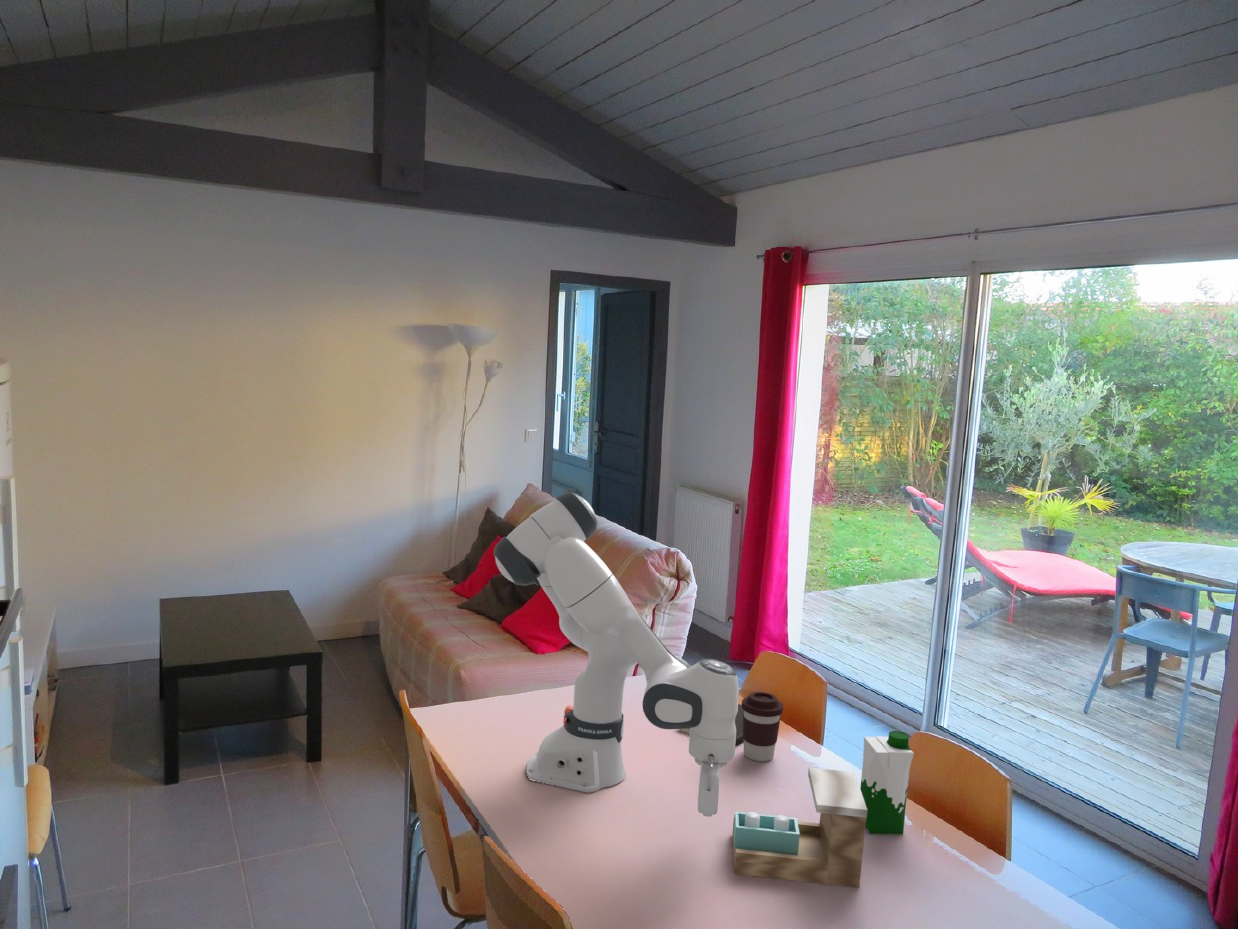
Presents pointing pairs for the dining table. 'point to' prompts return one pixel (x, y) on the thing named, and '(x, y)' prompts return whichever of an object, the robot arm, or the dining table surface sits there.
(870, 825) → the milk carton
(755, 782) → the dining table surface
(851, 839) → the counter
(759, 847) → the tray
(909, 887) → the dining table surface
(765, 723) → the coffee cup
